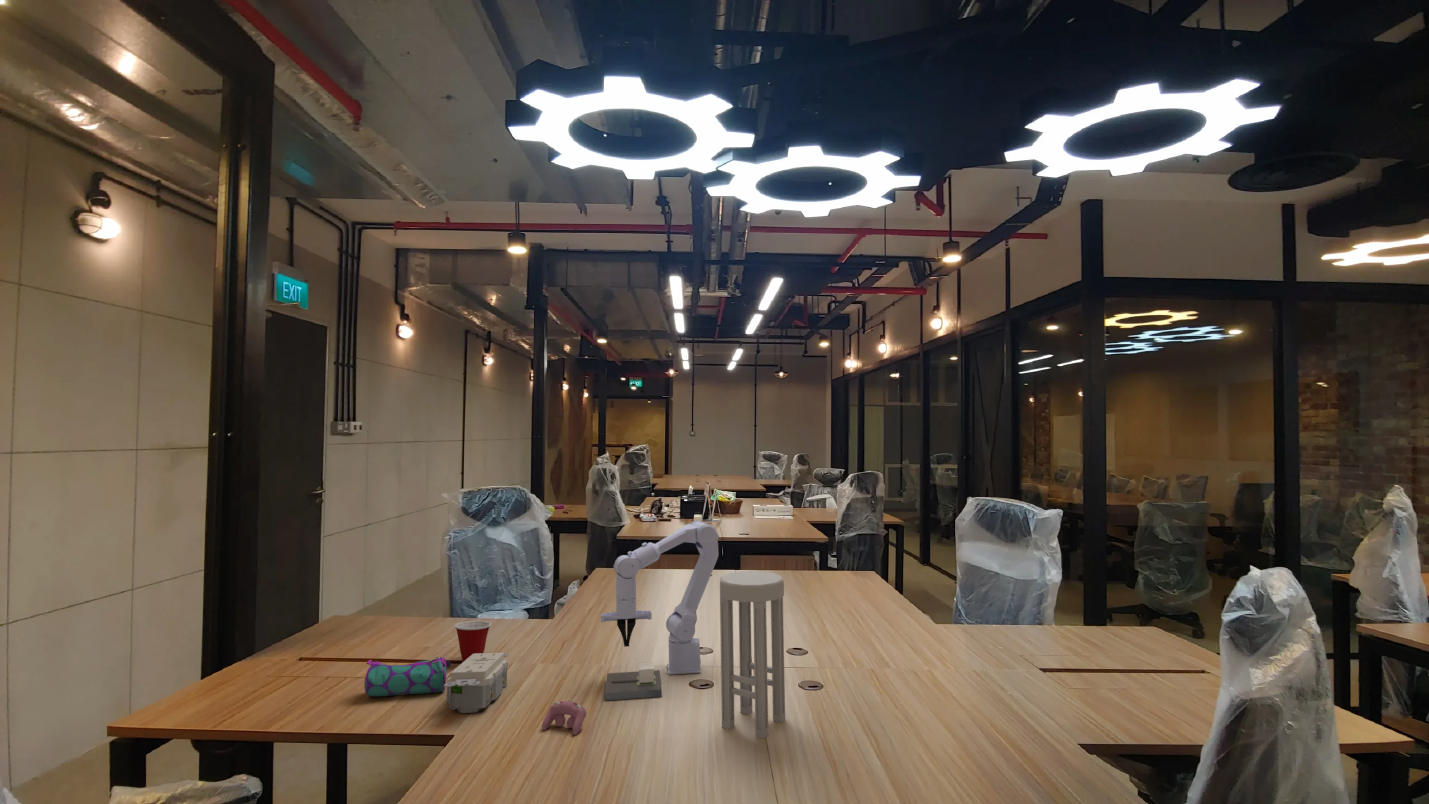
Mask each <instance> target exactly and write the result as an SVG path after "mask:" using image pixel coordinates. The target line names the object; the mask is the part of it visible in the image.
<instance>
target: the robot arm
mask: <svg viewBox="0 0 1429 804" xmlns="http://www.w3.org/2000/svg"><path fill="white" fill-rule="evenodd" d="M719 535H720V534H719V533H718V532H717V530H716V528H715V526H713V525H712V524H710V523H705V522H703V521H701V520H693V521H692V522H690V523H687V524H685V525H683V526H682V527H681V528H678V529H677V530H675V531H674V532H672V533H671V534H669V535H668V536H666V537H664V538H662V539H661V540H659V541H658V542H656V543H653V542H650V541H649V542H648V543H647V542H646V541H645V542H643V543H641V546H640V547H638V548H636V549H635V550H633V551H631V550H630V551H628V552H627V555H626V554H625V555H624V554H623V555H620V556H618V557H617V558H616V559H615V562H614V564H613V570H614V571H615V572H616V576H615V577H616V583H615V593H616V594H615V597H616V598H615V601H616V602H615V603H616V604H615V605H616V607H615V608H616V611H613V612H606V613H605V612H604V613H601V614H600V623H605V622H616V626H617V627H618V629H619V631H620V634H621V638H622V640H623V641H622V642H623V647H625V648H626V647H630V640H631V636H632V634H633V631H634V628H635V626H636V625H637V624H636V621H637V620H638V621H639V620H648V621H649V620H650V621H651V620H652V618H653V617H652V610H637V582H636V575H637V574H638V572H639V571H640V570H642V569H644V568H647V566H649V565H652V564H653V563H655V562H657V561H658V560H659V559H660V557H661V554H663V553H665V552H667V551H670V550H671V549H673V548H675V547H677V546H679V545H681V544H683V543H690V544H691V543H692V544H694V545H695V546H696V549H697V550H698V551H697V552H698V553H699V557H698V559H697V562H696V564H695V567H694V569H693V571H692V574H691V576H690V579H689V581H688V584H687V586H686V589H685V591H684V594H683V596H682V599H681V601H680V603H679V604H678V605H677V606H676V607H675V608H674V610H673V612H672V613H671V614H670V615H669V616H668V617H667V619H666V621H665V624H666V625H665V626H666V630H667V631H668V632H669V636H668V663H667V664H666V667H667V668H666V669H667V674H668V675H683V674H699V673H701V664H702V662H701V661H702V660H701V644H700V638H698V637H694V636H695V634H696V623H697V621H698V615H697V610H698V608H699V605H700V603H701V600H702V598H703V595H704V592H705V591H706V588H707V585H708V583H709V581H710V578H711V576H712V573H713V570H714V568H715V565H716V563H717V561H718V558H719V554H720V553H719V542H718V541H719V538H720V536H719Z"/></svg>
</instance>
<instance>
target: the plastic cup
mask: <svg viewBox="0 0 1429 804" xmlns="http://www.w3.org/2000/svg"><path fill="white" fill-rule="evenodd" d="M491 626H492V622H489V621H488V620H487V621H486V620H467V621H461V622H457V623H456V624H454V628H455V629H456V634H457V639H458V645H459V653H460V655H461V663H463V662H464V661H465V660H466V659H467V658H469V657H470V656H471V655H472V654H476V653H485V649H486V643H487V638H488V633H489V630H490V627H491Z"/></svg>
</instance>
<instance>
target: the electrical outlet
mask: <svg viewBox="0 0 1429 804" xmlns="http://www.w3.org/2000/svg"><path fill="white" fill-rule="evenodd" d="M508 656H509V653H508V652H506V653H505V652H484V653H476V654H472V655H471V656H470V657H469V658H467V659H466V660H465V661H464V662H461V663H460V664H459V665H458V666H457V667H455V668H454V669H453V670H451V672H450V677H449V678H446V684H444V687H445V688H446V704H449V707H448V708H449V709H451V710H452V711H453V710H455V711H456V709H457V712H459V713H460V714H471V713H473V714H474V713H478V712H479V711H481V710H482V709H485V708H487V707H488V706H490V704H491V702H492V701H495V700H497V699H498V697H499V696H500V695H501V694H502V692H503V688H504V687H507V686H508V667H509V661H508V660H507V659H505V657H508Z"/></svg>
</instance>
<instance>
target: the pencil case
mask: <svg viewBox="0 0 1429 804" xmlns="http://www.w3.org/2000/svg"><path fill="white" fill-rule="evenodd" d="M366 664H367V665H369V667H368V669H367V670H366V673H365V677H364V692H365V694H366V695H367V696H368V697H370V698H372V697H390V696H401V695H402V696H403V695H422V694H423V695H424V694H435V693H442V692H443V693H444V691H446V687H444V684H446V683H447V669H448V668H451V661H450V660H447V659H446V658H444V657H442V656H435V658H432V659H428V660H421V661H416V662H413V663H408V664H394V665H391V664H385V663H381V662H380V661H373V660H372V659H369V660H368V661H366Z"/></svg>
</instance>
